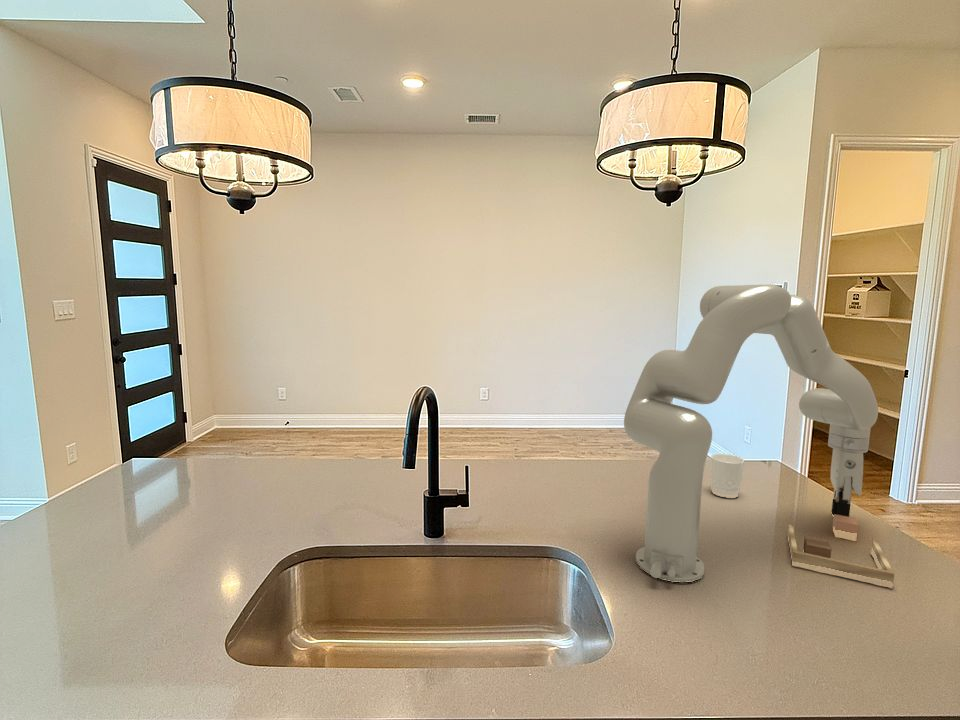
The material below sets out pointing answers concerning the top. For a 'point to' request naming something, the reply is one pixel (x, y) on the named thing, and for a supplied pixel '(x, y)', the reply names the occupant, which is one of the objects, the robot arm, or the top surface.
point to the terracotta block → (845, 523)
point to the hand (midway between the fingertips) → (839, 517)
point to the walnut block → (817, 547)
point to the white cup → (726, 473)
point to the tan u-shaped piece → (848, 567)
